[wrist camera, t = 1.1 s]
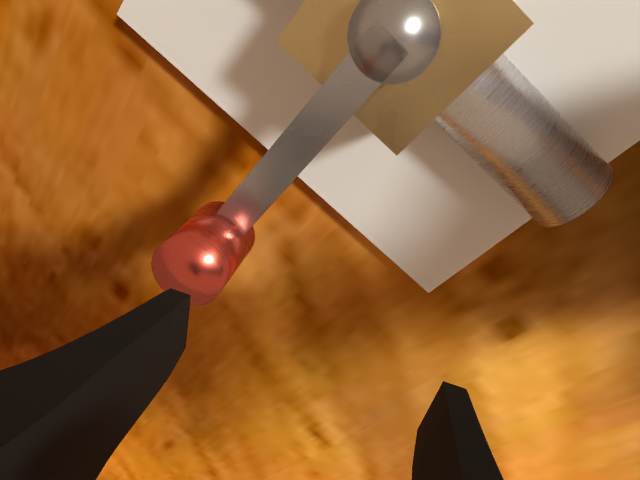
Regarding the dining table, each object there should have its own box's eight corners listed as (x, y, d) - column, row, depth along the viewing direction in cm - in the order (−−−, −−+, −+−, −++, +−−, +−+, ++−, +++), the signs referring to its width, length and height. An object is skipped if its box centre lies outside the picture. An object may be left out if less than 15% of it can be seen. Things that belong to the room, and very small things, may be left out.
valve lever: (395, -39, 12) (382, -44, 9) (460, 28, 12) (464, 40, 10) (183, 229, 18) (139, 271, 15) (232, 269, 18) (197, 317, 16)
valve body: (625, 134, 17) (677, 178, 13) (509, 220, 19) (525, 278, 16) (265, -252, 14) (201, -337, 10) (185, -94, 17) (110, -116, 13)
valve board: (771, 28, 15) (790, 31, 14) (429, 281, 23) (428, 293, 22) (372, -463, 12) (366, -496, 11) (130, 13, 20) (116, 14, 19)
